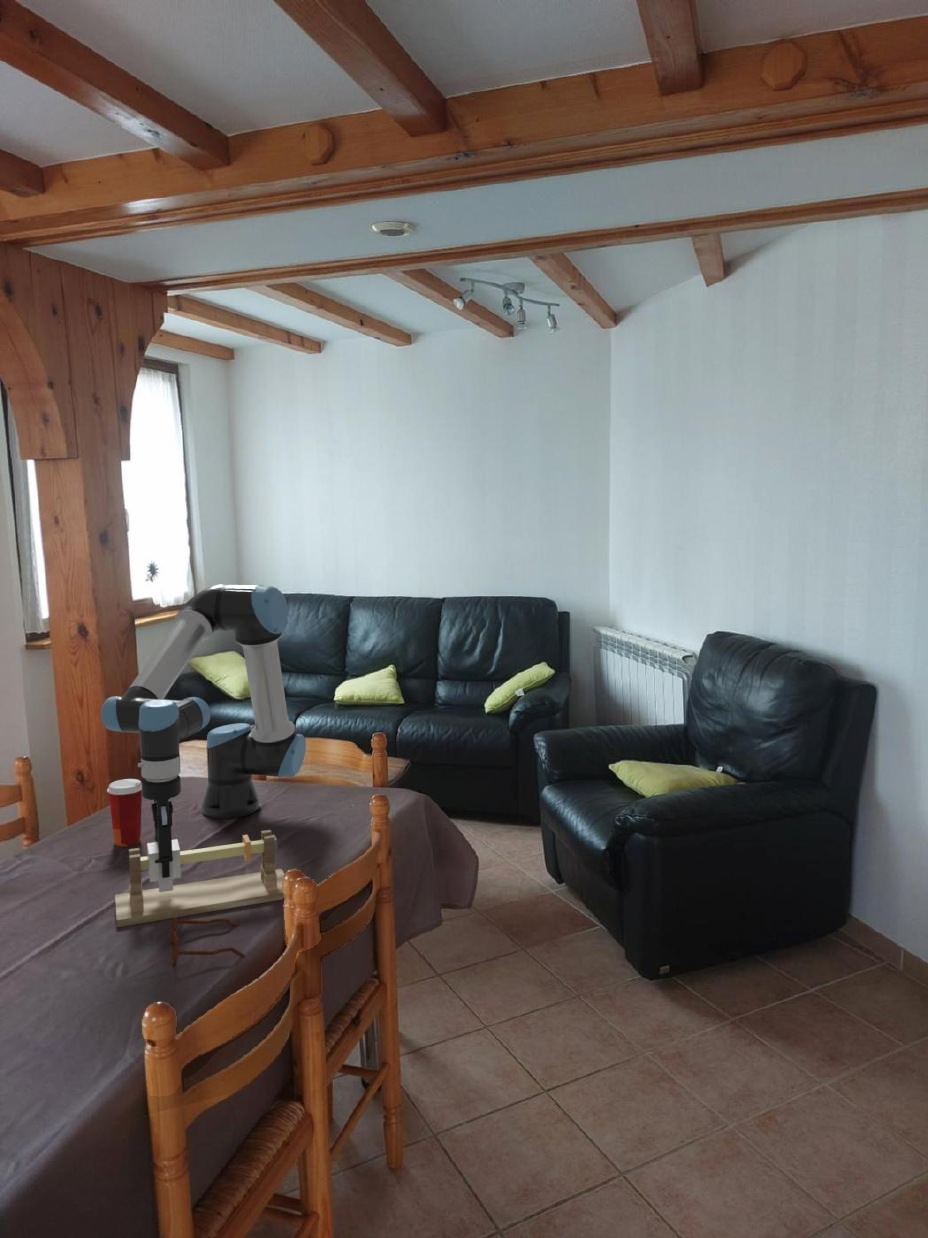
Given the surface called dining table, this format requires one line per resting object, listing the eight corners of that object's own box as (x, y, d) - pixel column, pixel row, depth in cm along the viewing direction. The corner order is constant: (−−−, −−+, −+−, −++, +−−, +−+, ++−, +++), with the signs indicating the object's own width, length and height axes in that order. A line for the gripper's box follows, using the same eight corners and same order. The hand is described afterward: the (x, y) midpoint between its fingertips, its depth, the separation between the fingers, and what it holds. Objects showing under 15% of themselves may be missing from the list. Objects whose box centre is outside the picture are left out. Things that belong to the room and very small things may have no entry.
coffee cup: (151, 836, 216) (148, 778, 214) (135, 849, 208) (133, 789, 206) (119, 834, 217) (116, 777, 215) (102, 847, 209) (99, 788, 207)
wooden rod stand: (115, 901, 181) (112, 844, 179) (281, 875, 195) (280, 822, 193) (116, 927, 170) (114, 867, 169) (292, 897, 184) (292, 841, 182)
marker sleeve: (148, 870, 180) (147, 843, 179) (178, 866, 182) (177, 839, 182) (150, 882, 175) (148, 854, 174) (180, 877, 177) (180, 849, 176)
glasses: (169, 938, 168) (168, 913, 167) (238, 927, 172) (237, 903, 171) (172, 972, 155) (171, 946, 155) (246, 959, 160) (245, 934, 159)
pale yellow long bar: (132, 870, 178) (131, 850, 177) (274, 850, 189) (273, 831, 189) (133, 879, 174) (132, 858, 173) (278, 857, 185) (277, 838, 185)
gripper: (139, 765, 183) (143, 868, 186) (143, 793, 166) (148, 906, 169) (176, 761, 186) (179, 863, 189) (184, 788, 168) (188, 900, 172)
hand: (164, 883), depth 179 cm, fingers closed on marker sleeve, 6 cm apart
